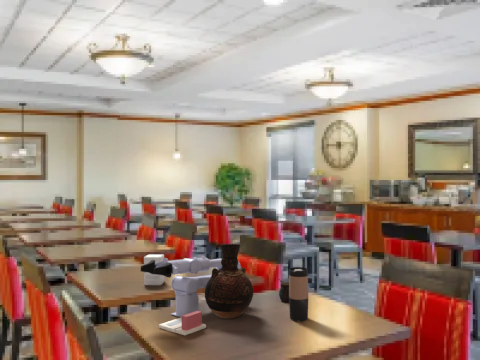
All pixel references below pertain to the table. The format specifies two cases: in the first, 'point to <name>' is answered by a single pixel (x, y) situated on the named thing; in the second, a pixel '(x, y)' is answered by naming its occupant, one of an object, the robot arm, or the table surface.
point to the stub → (191, 323)
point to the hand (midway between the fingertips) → (147, 270)
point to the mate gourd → (284, 291)
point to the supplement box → (151, 278)
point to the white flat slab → (171, 325)
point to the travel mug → (298, 293)
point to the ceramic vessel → (228, 286)
